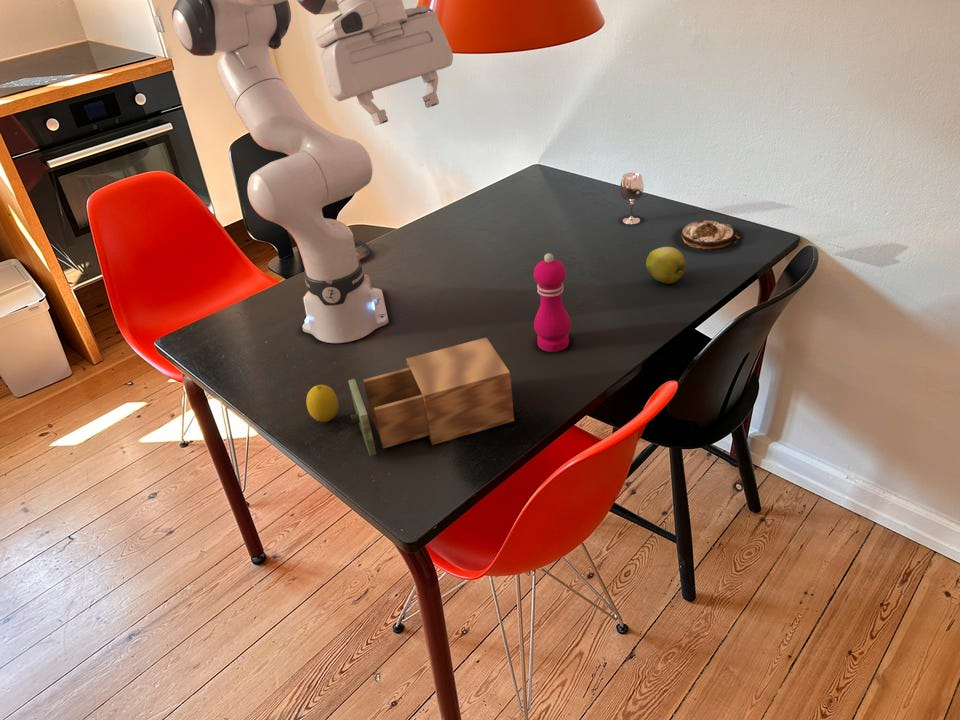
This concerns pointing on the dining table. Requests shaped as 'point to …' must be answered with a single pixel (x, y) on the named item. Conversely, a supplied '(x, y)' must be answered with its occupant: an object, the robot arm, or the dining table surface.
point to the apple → (666, 264)
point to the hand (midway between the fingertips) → (407, 114)
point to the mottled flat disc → (708, 235)
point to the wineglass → (631, 192)
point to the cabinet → (463, 389)
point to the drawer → (390, 409)
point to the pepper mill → (551, 306)
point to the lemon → (322, 403)
